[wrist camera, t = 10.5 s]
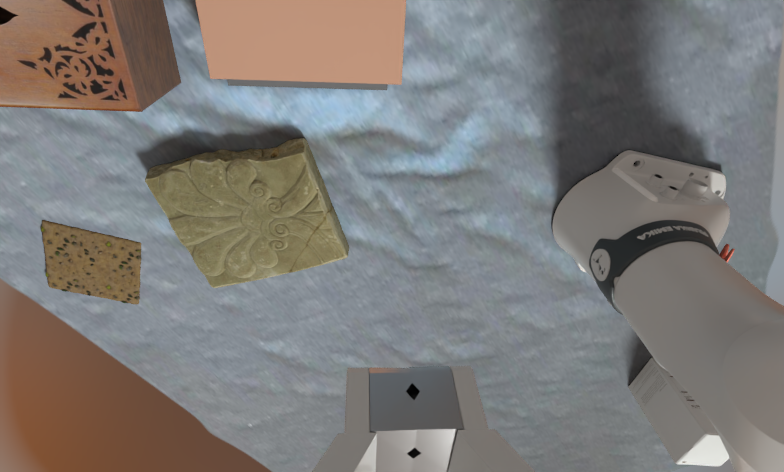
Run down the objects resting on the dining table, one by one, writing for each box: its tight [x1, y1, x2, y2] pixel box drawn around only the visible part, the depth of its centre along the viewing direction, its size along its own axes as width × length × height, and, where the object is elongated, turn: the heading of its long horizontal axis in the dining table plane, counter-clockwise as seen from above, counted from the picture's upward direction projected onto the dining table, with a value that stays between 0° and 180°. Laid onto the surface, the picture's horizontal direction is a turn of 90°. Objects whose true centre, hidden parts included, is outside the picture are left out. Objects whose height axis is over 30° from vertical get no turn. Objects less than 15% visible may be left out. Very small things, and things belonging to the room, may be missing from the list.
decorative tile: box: [145, 138, 349, 288], centre depth 53 cm, size 19×20×4 cm
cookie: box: [41, 220, 141, 304], centre depth 58 cm, size 12×12×1 cm
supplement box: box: [629, 358, 729, 466], centre depth 73 cm, size 9×9×15 cm
